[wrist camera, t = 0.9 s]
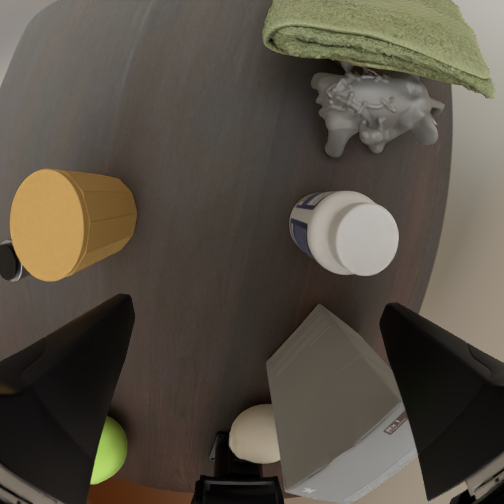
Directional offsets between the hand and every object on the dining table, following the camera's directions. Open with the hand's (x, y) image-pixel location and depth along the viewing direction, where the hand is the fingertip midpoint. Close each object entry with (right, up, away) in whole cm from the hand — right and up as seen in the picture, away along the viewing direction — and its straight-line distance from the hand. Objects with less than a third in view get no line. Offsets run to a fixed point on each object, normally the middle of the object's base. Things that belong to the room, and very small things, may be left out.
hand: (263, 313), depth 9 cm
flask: (-23, +2, +13) cm, 27 cm away
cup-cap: (-14, +5, +13) cm, 20 cm away
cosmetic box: (+6, -7, +17) cm, 19 cm away
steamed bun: (+2, -20, +14) cm, 24 cm away
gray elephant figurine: (+10, +15, +12) cm, 22 cm away
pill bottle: (+5, +4, +14) cm, 16 cm away
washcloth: (+10, +20, +5) cm, 22 cm away
